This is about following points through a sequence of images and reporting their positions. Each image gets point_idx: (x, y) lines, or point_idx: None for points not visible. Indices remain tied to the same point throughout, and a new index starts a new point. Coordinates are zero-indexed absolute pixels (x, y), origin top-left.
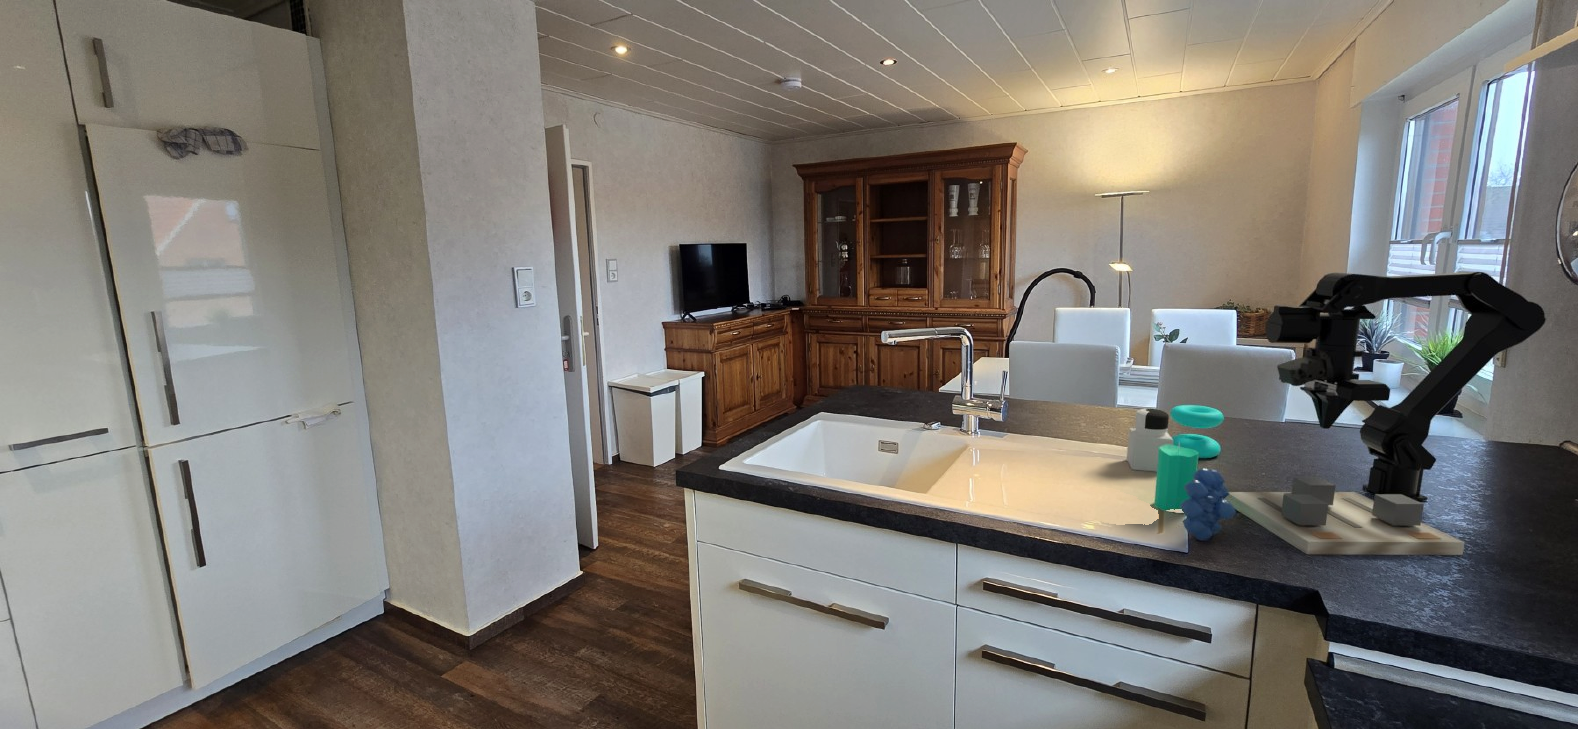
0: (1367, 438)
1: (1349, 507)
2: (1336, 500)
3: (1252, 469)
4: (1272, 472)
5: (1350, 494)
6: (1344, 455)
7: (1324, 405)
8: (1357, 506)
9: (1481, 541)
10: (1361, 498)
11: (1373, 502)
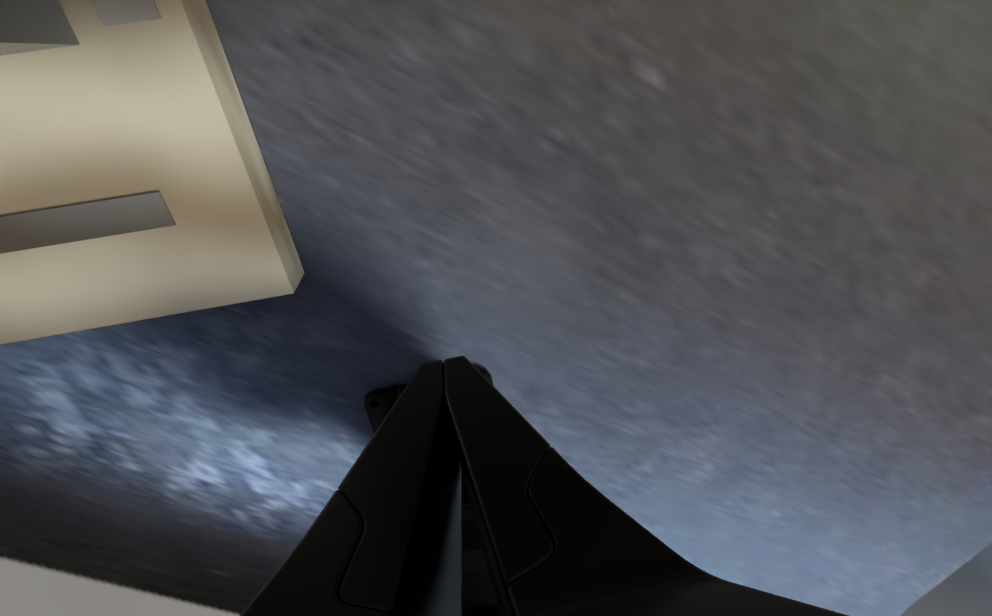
0: (475, 531)
1: (4, 158)
2: (107, 149)
3: (712, 51)
4: (664, 132)
5: (246, 258)
6: (800, 452)
7: (330, 574)
8: (52, 206)
9: (35, 456)
10: (203, 277)
11: (161, 298)
